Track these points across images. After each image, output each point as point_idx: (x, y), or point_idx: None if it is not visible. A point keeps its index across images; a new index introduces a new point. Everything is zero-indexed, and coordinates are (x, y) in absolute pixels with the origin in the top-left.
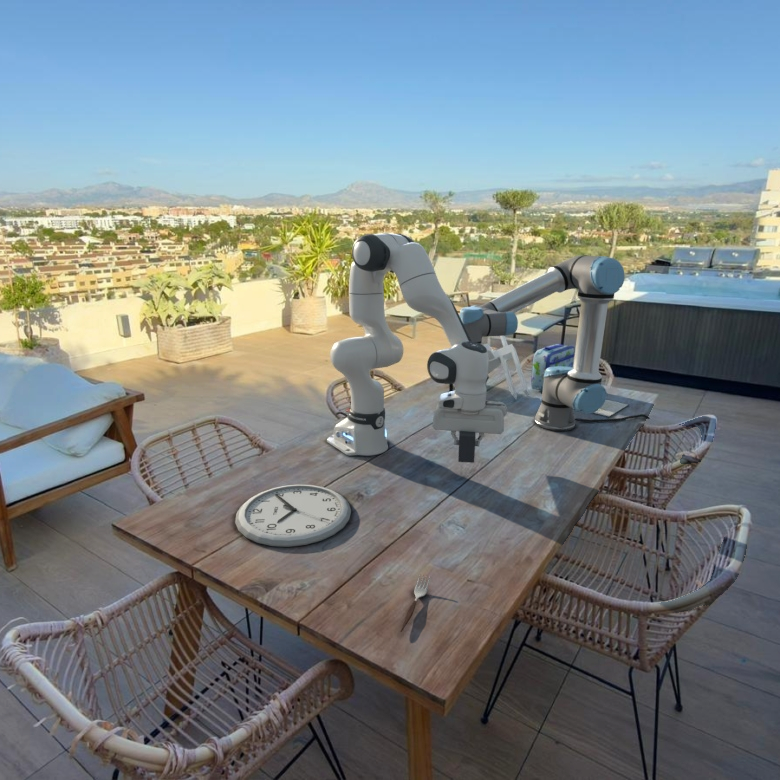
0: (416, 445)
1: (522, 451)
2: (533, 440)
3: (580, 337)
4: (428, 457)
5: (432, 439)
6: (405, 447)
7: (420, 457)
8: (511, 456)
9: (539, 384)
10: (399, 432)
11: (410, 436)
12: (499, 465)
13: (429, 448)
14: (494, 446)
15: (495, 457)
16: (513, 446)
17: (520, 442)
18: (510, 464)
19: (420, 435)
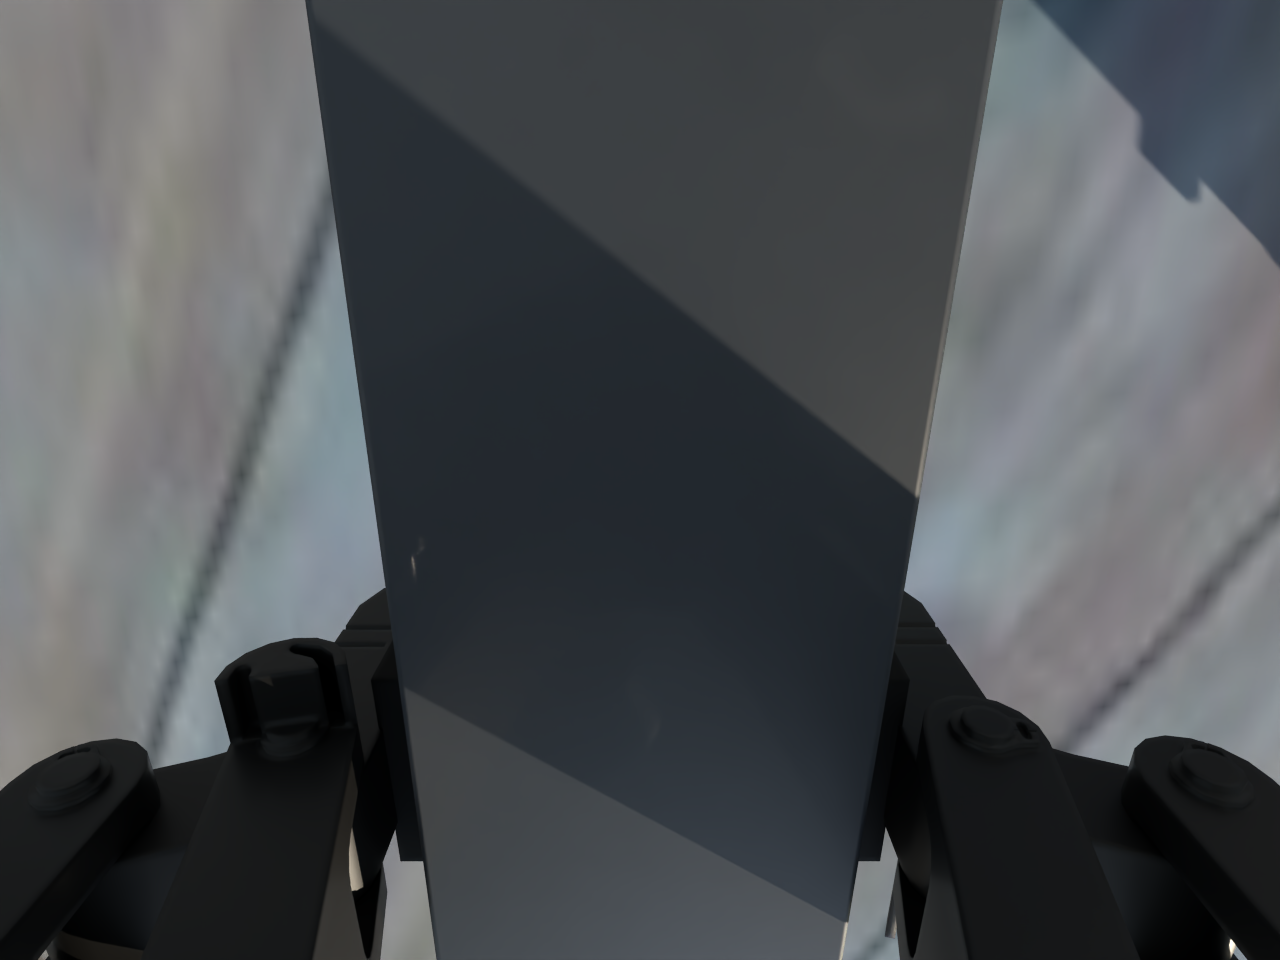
0: (1136, 438)
1: (61, 452)
2: (13, 702)
3: None
4: (1055, 129)
5: (946, 601)
6: (1269, 370)
7: (1152, 113)
8: (146, 310)
9: None
10: (1247, 708)
11: (1156, 638)
12: (238, 28)
13: (1007, 383)
14: (343, 528)
15: (306, 256)
16: (165, 553)
17: (117, 647)
18: (122, 82)
19: (1052, 671)
